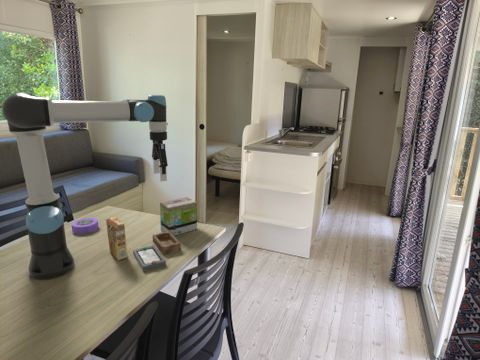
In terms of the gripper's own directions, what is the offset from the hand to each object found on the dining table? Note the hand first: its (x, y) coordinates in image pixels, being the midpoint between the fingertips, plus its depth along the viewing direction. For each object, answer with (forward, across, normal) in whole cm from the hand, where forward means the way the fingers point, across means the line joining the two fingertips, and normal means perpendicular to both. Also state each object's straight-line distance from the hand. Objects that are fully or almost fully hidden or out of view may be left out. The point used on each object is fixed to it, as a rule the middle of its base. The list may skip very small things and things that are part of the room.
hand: (160, 177), depth 154 cm
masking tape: (+28, +17, +33) cm, 47 cm away
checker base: (+27, -24, +11) cm, 38 cm away
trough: (+27, -16, +2) cm, 32 cm away
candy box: (+28, -15, +22) cm, 39 cm away
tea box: (+28, -2, -8) cm, 29 cm away
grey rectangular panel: (+27, -25, +11) cm, 38 cm away
